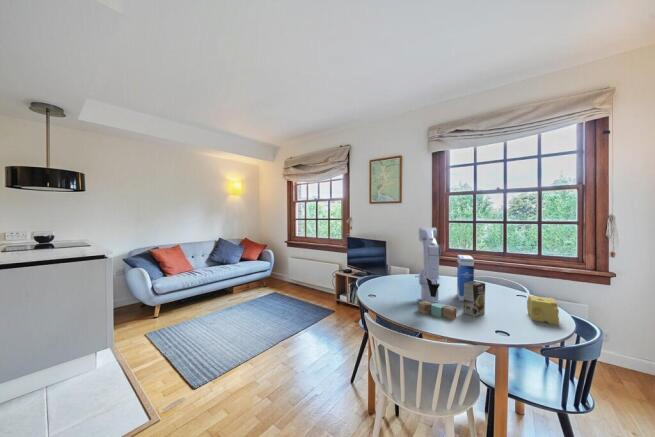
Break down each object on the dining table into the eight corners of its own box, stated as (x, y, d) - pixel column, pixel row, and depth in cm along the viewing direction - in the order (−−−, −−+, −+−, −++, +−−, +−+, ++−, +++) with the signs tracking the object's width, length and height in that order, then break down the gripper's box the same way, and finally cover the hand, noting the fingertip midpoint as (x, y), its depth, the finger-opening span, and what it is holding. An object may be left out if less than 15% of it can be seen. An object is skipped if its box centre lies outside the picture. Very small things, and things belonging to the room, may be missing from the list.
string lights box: (473, 303, 144) (474, 259, 143) (458, 301, 146) (459, 258, 145) (469, 295, 156) (470, 255, 155) (456, 294, 159) (457, 254, 158)
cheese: (559, 325, 116) (559, 304, 115) (529, 320, 121) (530, 300, 121) (553, 317, 124) (554, 298, 124) (526, 312, 130) (527, 294, 130)
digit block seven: (445, 314, 128) (446, 304, 128) (456, 317, 125) (456, 307, 125) (442, 317, 125) (442, 307, 124) (453, 320, 121) (453, 310, 121)
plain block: (435, 311, 131) (435, 302, 131) (445, 315, 127) (445, 305, 127) (431, 314, 128) (431, 305, 128) (440, 317, 124) (440, 308, 124)
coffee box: (474, 317, 125) (475, 285, 124) (462, 312, 130) (463, 282, 130) (485, 313, 129) (486, 283, 128) (473, 309, 135) (473, 280, 134)
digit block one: (426, 310, 134) (426, 300, 133) (432, 313, 129) (432, 304, 129) (417, 310, 132) (418, 301, 132) (423, 314, 128) (423, 304, 127)
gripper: (423, 264, 136) (423, 289, 136) (425, 270, 122) (425, 297, 123) (437, 265, 134) (437, 290, 134) (441, 272, 120) (440, 299, 120)
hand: (432, 294), depth 128 cm, fingers open, 7 cm apart
